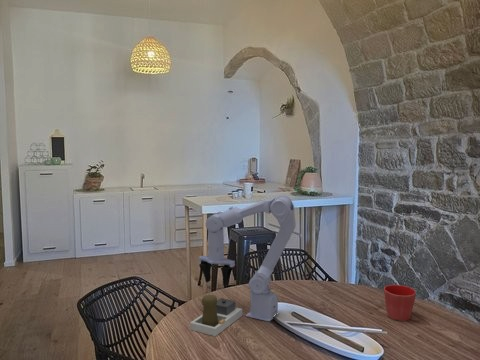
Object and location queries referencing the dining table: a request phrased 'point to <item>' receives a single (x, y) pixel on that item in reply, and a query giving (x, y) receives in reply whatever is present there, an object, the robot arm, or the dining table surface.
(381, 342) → the dining table surface
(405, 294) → the flower pot
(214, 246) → the robot arm
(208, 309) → the brown pear
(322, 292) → the dining table surface
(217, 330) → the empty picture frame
